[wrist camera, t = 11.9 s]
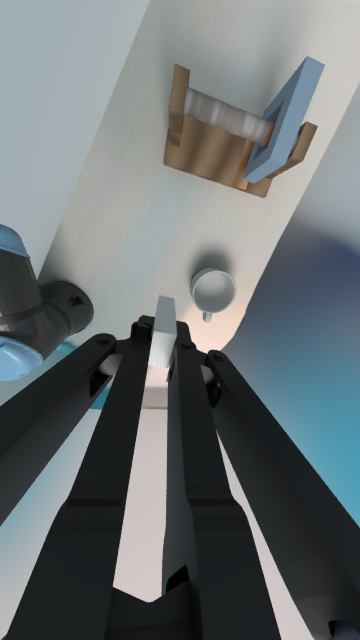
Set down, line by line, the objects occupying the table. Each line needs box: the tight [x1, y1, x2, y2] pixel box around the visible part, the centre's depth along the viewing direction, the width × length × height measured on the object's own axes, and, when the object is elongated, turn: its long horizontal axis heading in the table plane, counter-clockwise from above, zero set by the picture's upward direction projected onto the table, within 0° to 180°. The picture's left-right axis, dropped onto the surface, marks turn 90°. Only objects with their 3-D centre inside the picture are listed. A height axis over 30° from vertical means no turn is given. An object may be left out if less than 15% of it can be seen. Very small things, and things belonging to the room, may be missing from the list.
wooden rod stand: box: [164, 64, 318, 198], centre depth 28 cm, size 23×10×10 cm, turn 77°
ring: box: [243, 56, 325, 183], centre depth 25 cm, size 2×9×10 cm, turn 167°
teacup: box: [190, 268, 236, 322], centre depth 42 cm, size 14×11×8 cm
